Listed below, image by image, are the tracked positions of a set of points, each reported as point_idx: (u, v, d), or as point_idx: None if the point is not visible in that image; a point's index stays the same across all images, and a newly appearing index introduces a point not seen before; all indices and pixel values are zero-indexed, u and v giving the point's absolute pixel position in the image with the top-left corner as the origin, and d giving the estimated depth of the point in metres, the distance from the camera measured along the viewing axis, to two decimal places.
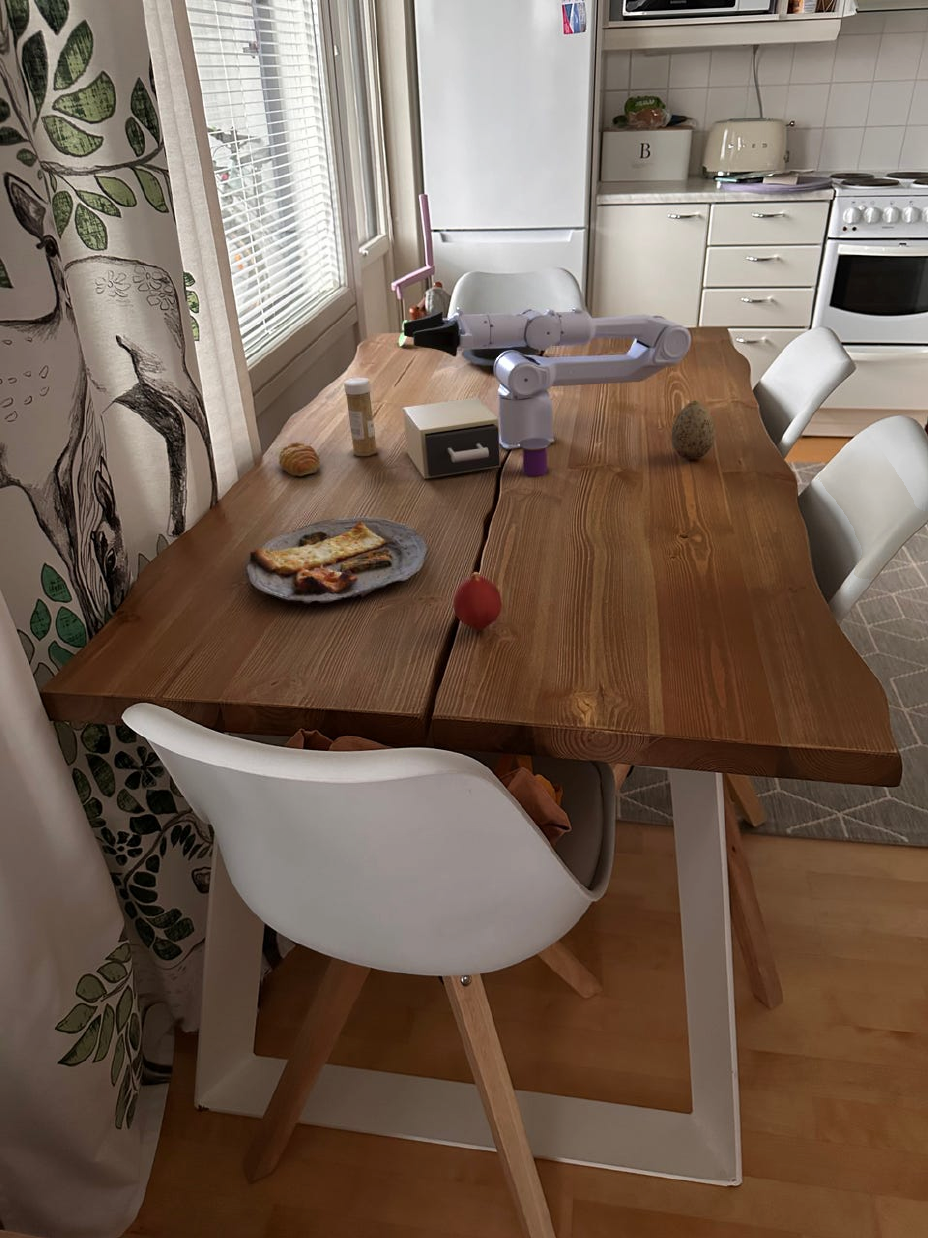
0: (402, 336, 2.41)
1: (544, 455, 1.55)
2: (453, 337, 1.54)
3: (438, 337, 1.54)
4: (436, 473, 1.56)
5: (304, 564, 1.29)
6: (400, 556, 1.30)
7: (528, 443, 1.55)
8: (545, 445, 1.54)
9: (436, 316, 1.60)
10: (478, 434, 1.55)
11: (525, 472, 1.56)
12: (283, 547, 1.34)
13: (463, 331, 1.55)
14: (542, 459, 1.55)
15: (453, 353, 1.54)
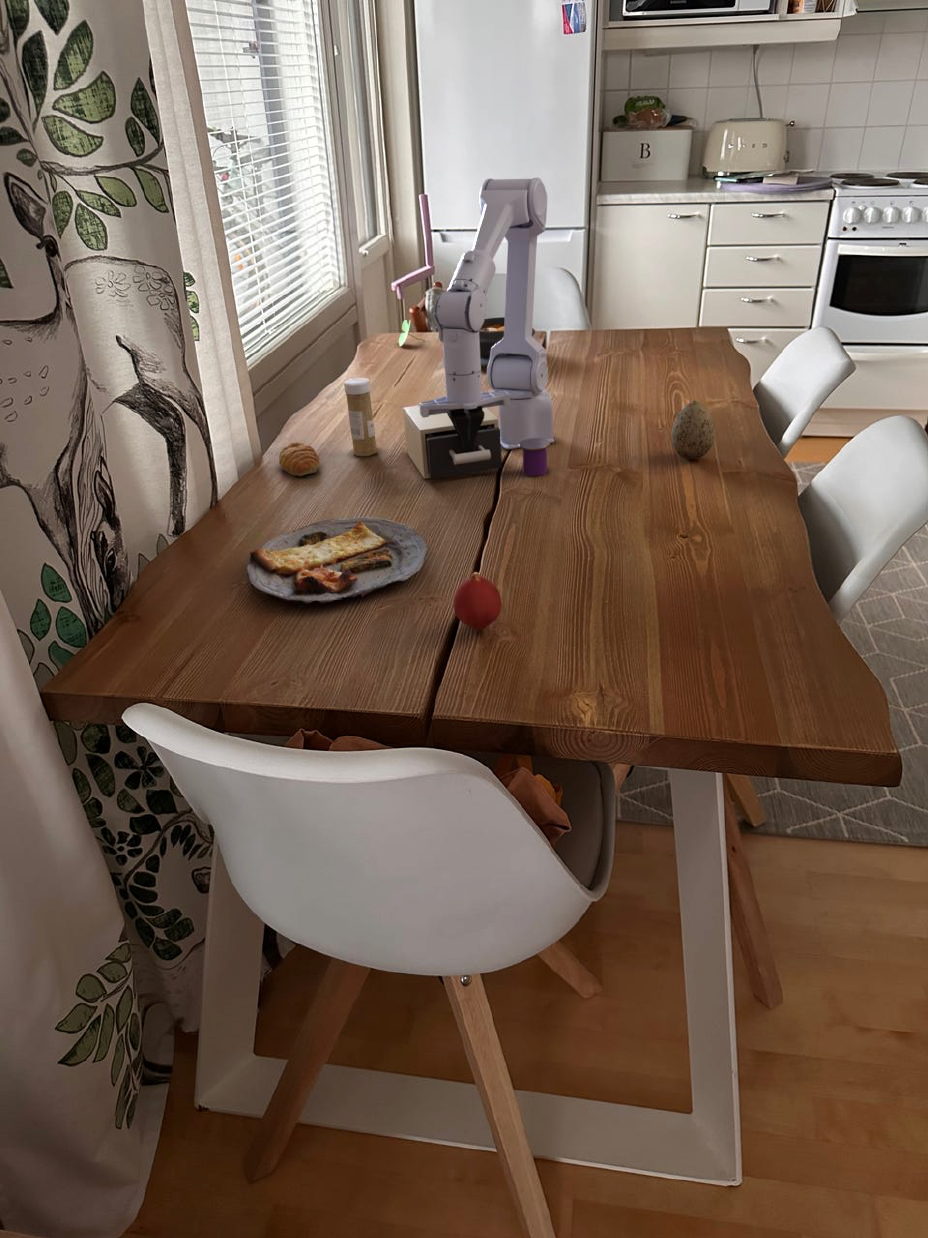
0: (402, 336, 2.41)
1: (544, 455, 1.55)
2: None
3: None
4: (438, 476, 1.55)
5: (304, 564, 1.29)
6: (400, 556, 1.30)
7: (528, 443, 1.55)
8: (545, 445, 1.54)
9: (467, 422, 1.48)
10: (480, 436, 1.54)
11: (525, 472, 1.56)
12: (283, 547, 1.34)
13: None
14: (542, 459, 1.55)
15: None
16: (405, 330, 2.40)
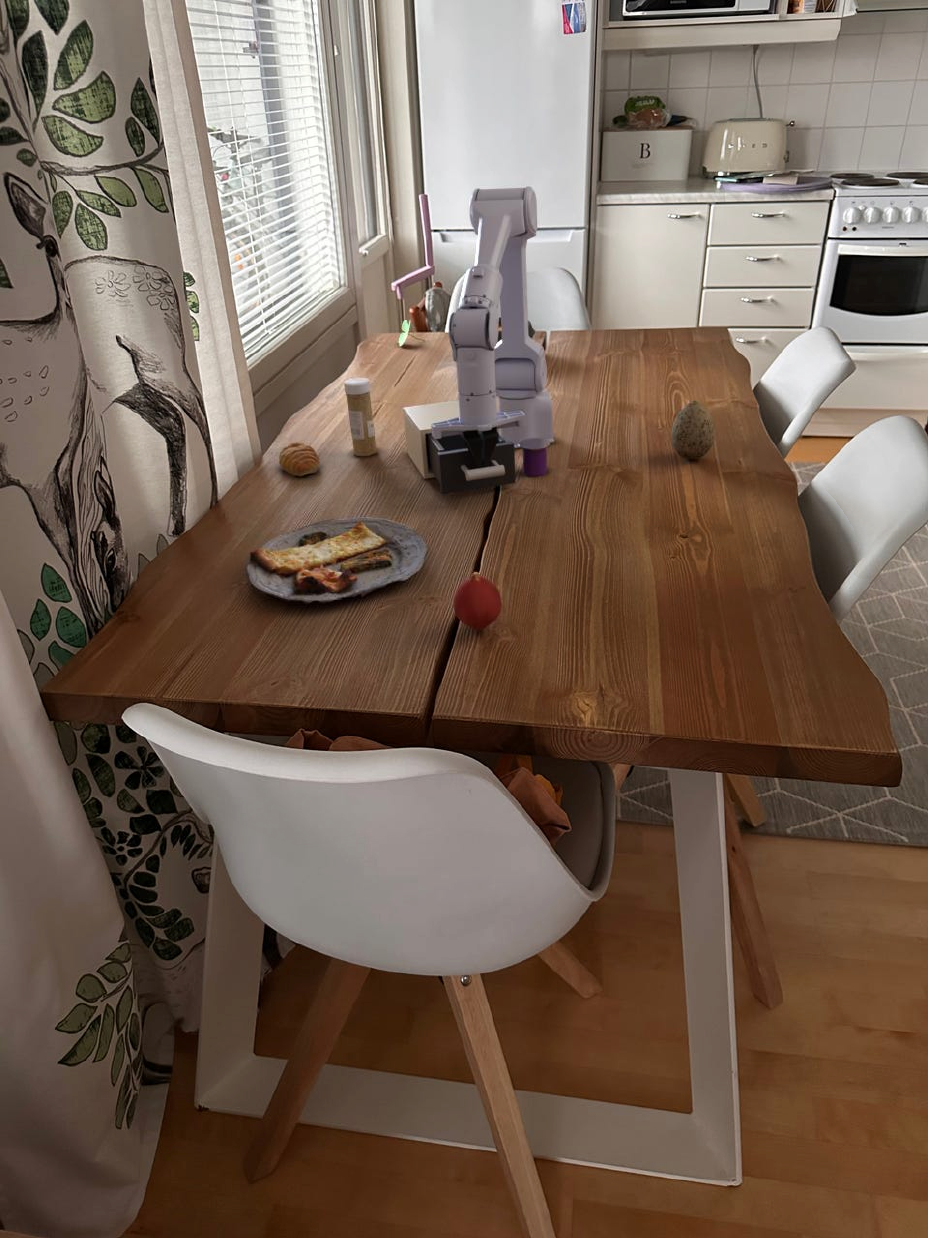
0: (402, 336, 2.41)
1: (544, 455, 1.55)
2: None
3: None
4: (449, 492, 1.49)
5: (304, 564, 1.29)
6: (400, 556, 1.30)
7: (528, 443, 1.55)
8: (545, 445, 1.54)
9: (481, 444, 1.42)
10: None
11: (525, 472, 1.56)
12: (283, 547, 1.34)
13: None
14: (542, 459, 1.55)
15: None
16: (405, 330, 2.40)
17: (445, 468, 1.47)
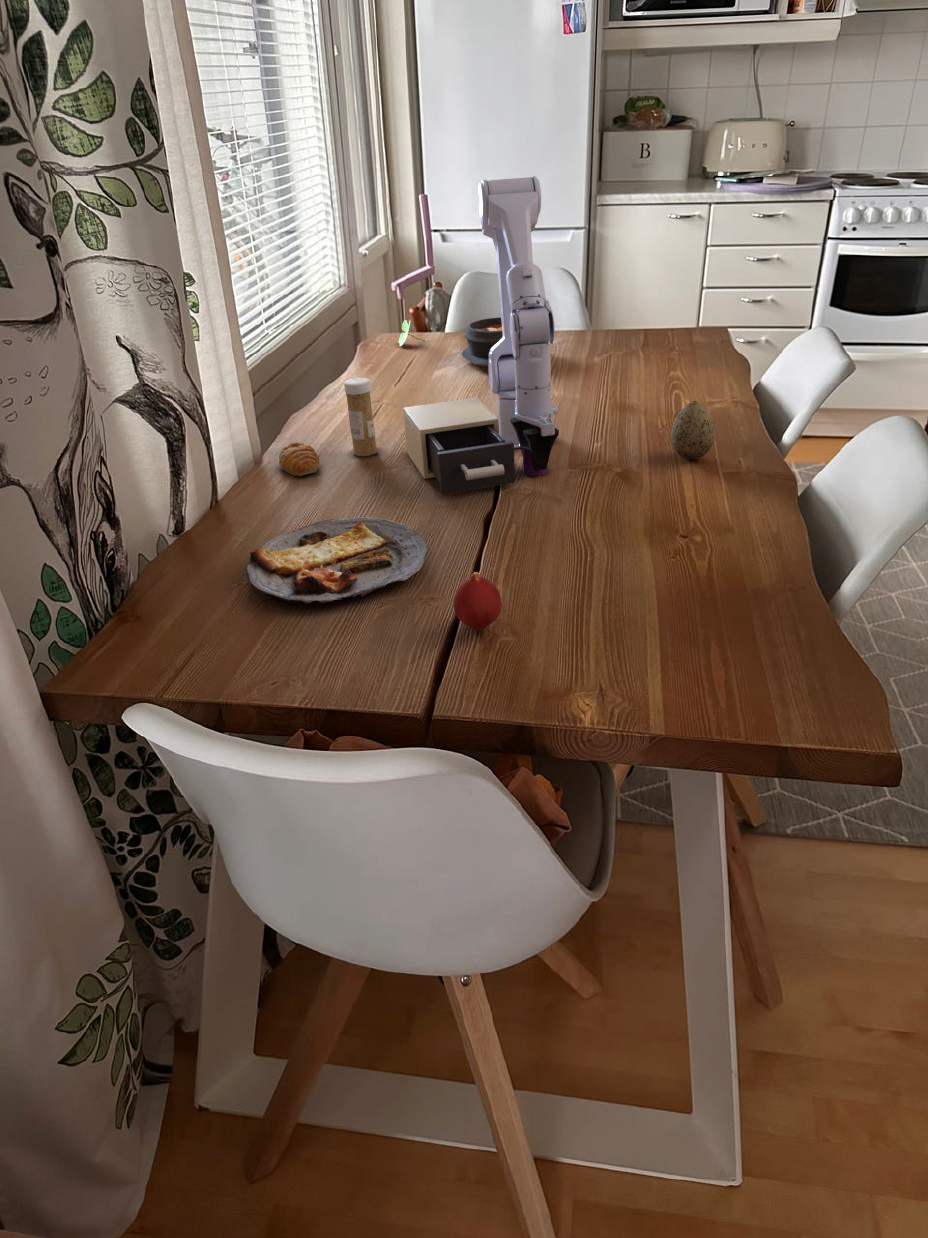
0: (402, 336, 2.41)
1: None
2: None
3: None
4: (449, 491, 1.49)
5: (304, 564, 1.29)
6: (400, 556, 1.30)
7: None
8: None
9: None
10: (493, 450, 1.48)
11: (525, 472, 1.56)
12: (283, 547, 1.34)
13: None
14: None
15: None
16: (405, 330, 2.40)
17: (445, 468, 1.47)
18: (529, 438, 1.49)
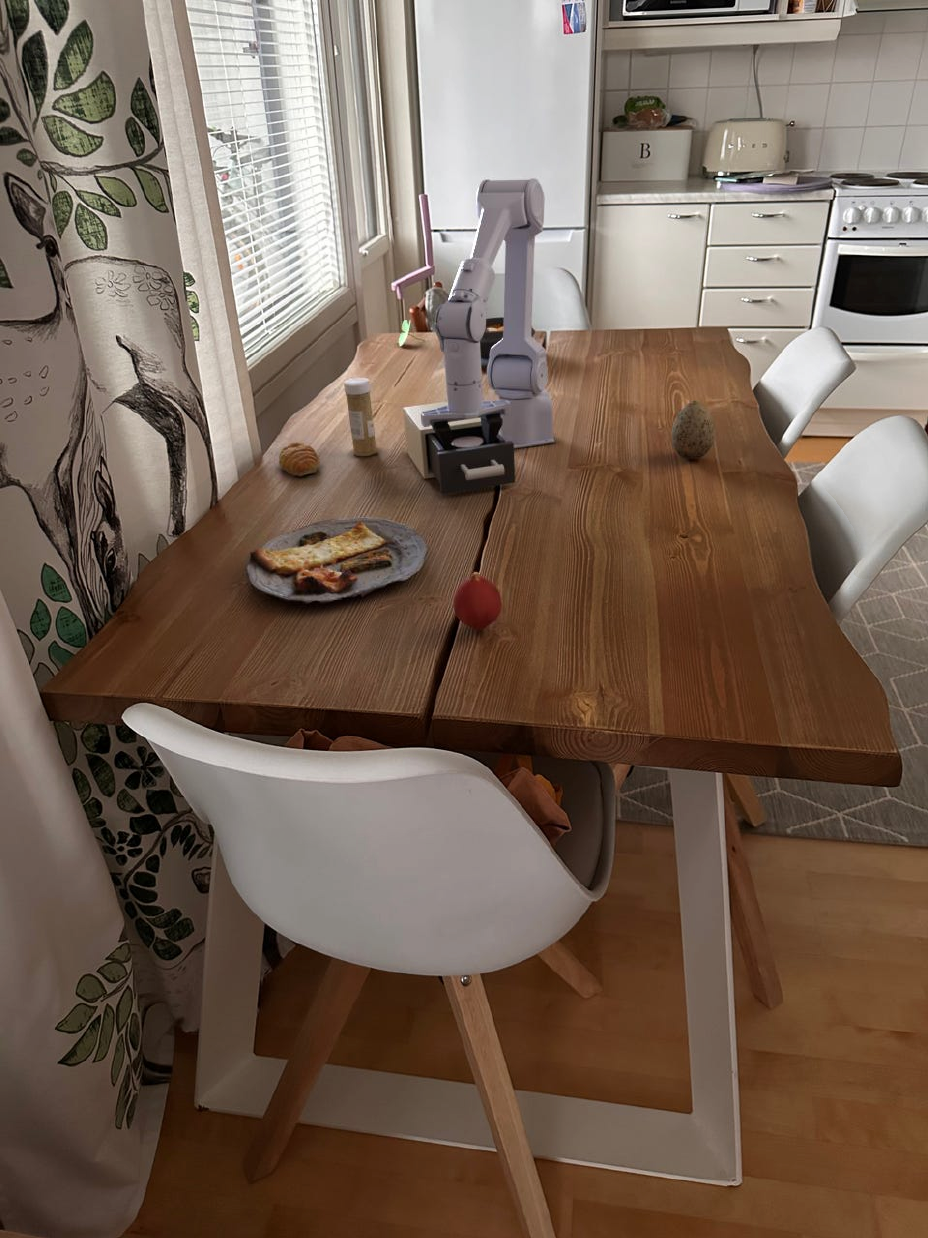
0: (402, 336, 2.41)
1: None
2: None
3: None
4: (449, 491, 1.49)
5: (304, 564, 1.29)
6: (400, 556, 1.30)
7: (468, 439, 1.52)
8: (459, 445, 1.50)
9: (451, 434, 1.48)
10: (493, 450, 1.48)
11: None
12: (283, 547, 1.34)
13: None
14: None
15: None
16: (405, 330, 2.40)
17: (445, 468, 1.47)
18: (431, 424, 1.51)
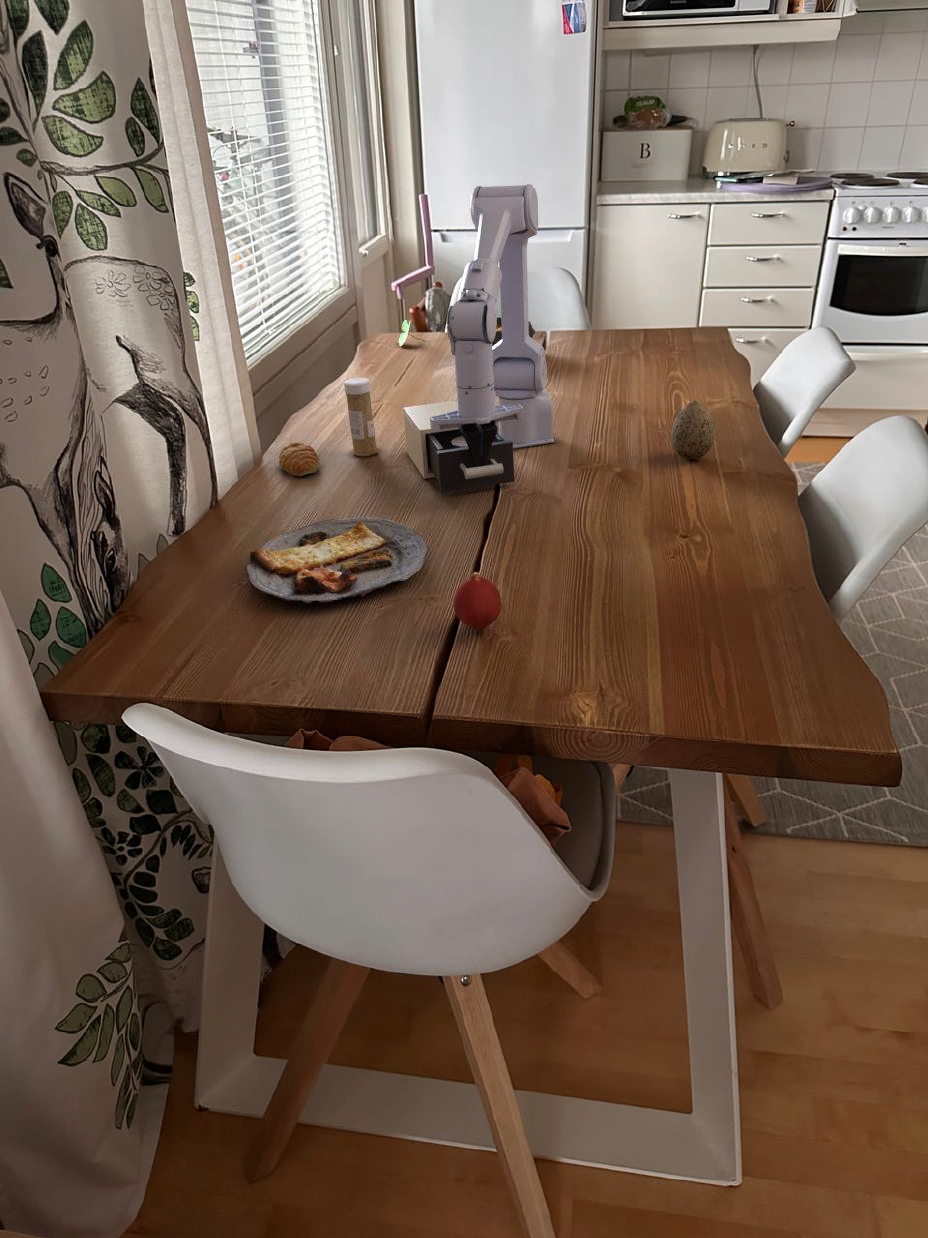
0: (402, 336, 2.41)
1: None
2: None
3: None
4: (448, 490, 1.49)
5: (304, 564, 1.29)
6: (400, 556, 1.30)
7: None
8: (458, 444, 1.51)
9: (480, 437, 1.42)
10: (492, 449, 1.48)
11: None
12: (283, 547, 1.34)
13: None
14: None
15: None
16: (405, 330, 2.40)
17: (444, 466, 1.47)
18: (459, 427, 1.45)
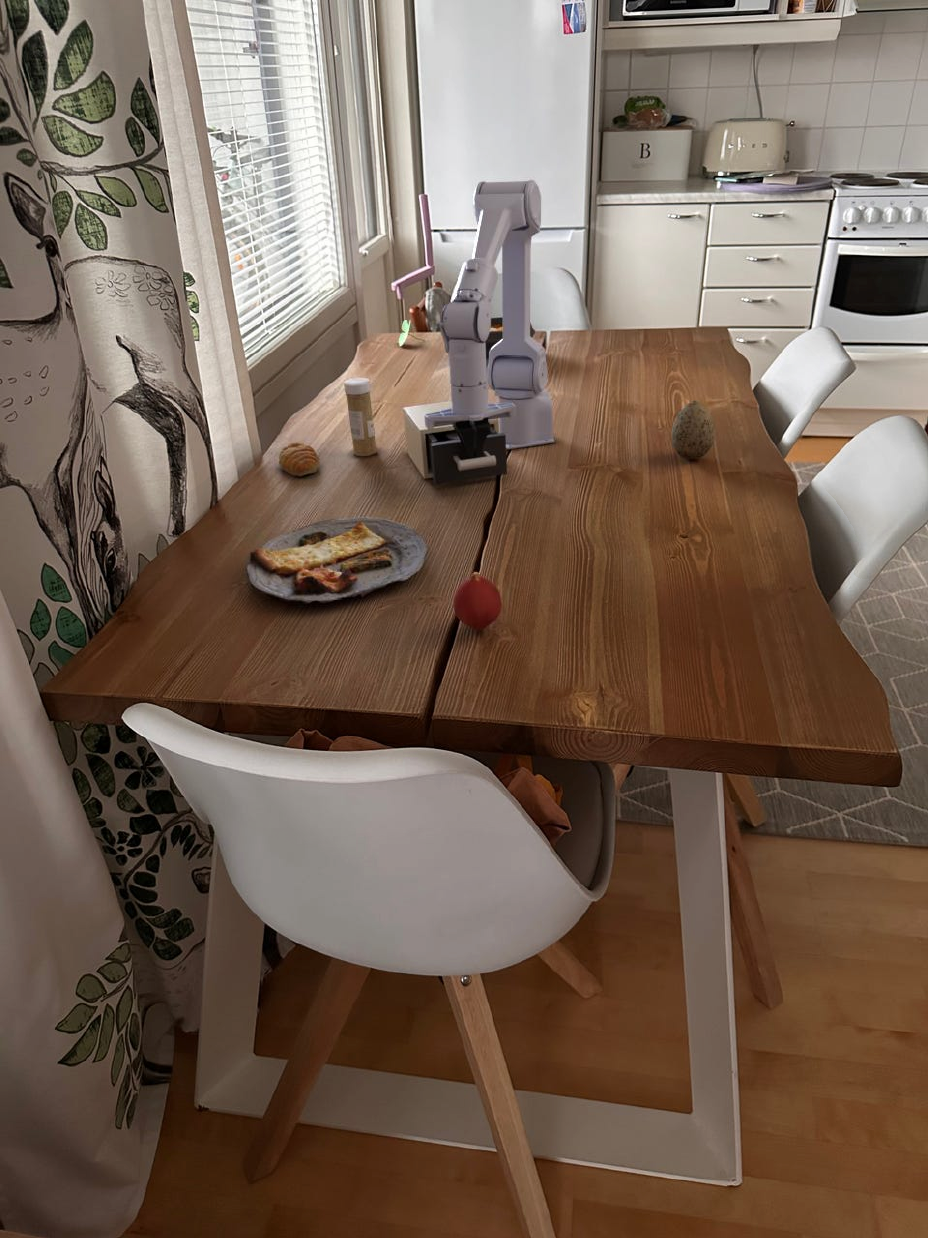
0: (402, 336, 2.41)
1: None
2: None
3: None
4: (442, 482, 1.53)
5: (304, 564, 1.29)
6: (400, 556, 1.30)
7: None
8: (452, 437, 1.54)
9: (473, 434, 1.46)
10: (485, 441, 1.51)
11: None
12: (283, 547, 1.34)
13: None
14: None
15: None
16: (405, 330, 2.40)
17: (438, 459, 1.50)
18: None
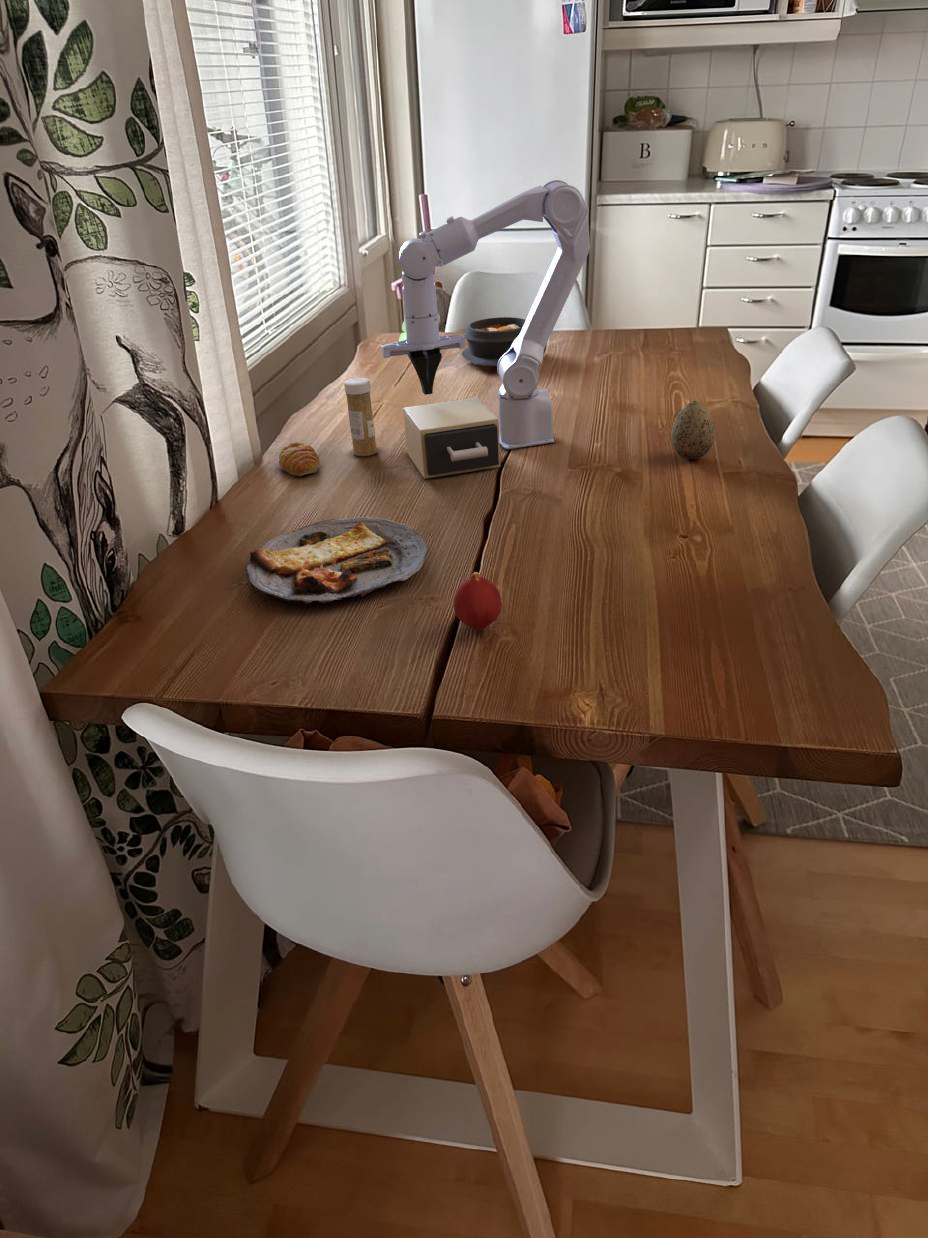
0: (402, 336, 2.41)
1: None
2: None
3: None
4: (436, 472, 1.57)
5: (304, 564, 1.29)
6: (400, 556, 1.30)
7: None
8: None
9: (426, 363, 1.61)
10: (477, 433, 1.55)
11: None
12: (283, 547, 1.34)
13: (449, 343, 1.61)
14: None
15: None
16: (405, 330, 2.40)
17: (431, 450, 1.54)
18: (408, 355, 1.64)
